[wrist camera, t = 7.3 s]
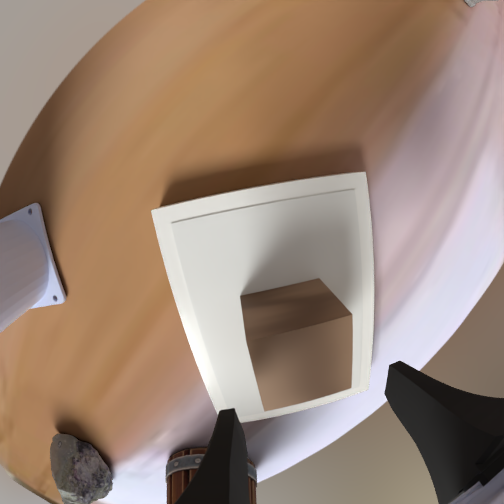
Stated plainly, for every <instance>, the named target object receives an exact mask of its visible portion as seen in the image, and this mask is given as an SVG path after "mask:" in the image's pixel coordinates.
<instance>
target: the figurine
mask: <svg viewBox="0 0 504 504" xmlns="http://www.w3.org/2000/svg"><path fill="white" fill-rule="evenodd" d="M464 1H465V2H466V3H467V4H468V5H469V6H470V7H474V6H475V4H476V3H478V2H481V1H497V0H464Z"/></svg>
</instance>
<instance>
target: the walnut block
mask: <svg viewBox="0 0 504 504" xmlns="http://www.w3.org/2000/svg"><path fill="white" fill-rule="evenodd" d="M240 300H241V308H242V315H243V323H244V330H245V337H246V343H247V347H248V351H249V355H250V359H251V363H252V367H253V370H254V374H255V378H256V382H257V386H258V390H259V394H260V397H261V401H262V405H263V409H264V412H265V411H270V410H274V409H279V408H283V407H288V406H292V405H296V404H300V403H304V402H308V401H311V400H315V399H318V398H322V397H325V396H329V395H332V394H335V393H338V392H341V391H344V390H347V389H350V388H351V387H352V361H353V314H352V313H351V312H350V311H349V310H348V309H347V308H346V307H345V306H344V304H343V303H342V302H341V301H340V300H339V299H338V298H337V297H336V296H335V295H334V294H333V292H332V291H331V290H330V289H329V288H328V287H327V286H326V285H325V284H324V283H323V282H322V281H321V279H320V278H317V279H313V280H309V281H305V282H300V283H296V284H292V285H287V286H283V287H278V288H274V289H269V290H265V291H260V292H255V293H250V294H246V295H241V296H240Z"/></svg>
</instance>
